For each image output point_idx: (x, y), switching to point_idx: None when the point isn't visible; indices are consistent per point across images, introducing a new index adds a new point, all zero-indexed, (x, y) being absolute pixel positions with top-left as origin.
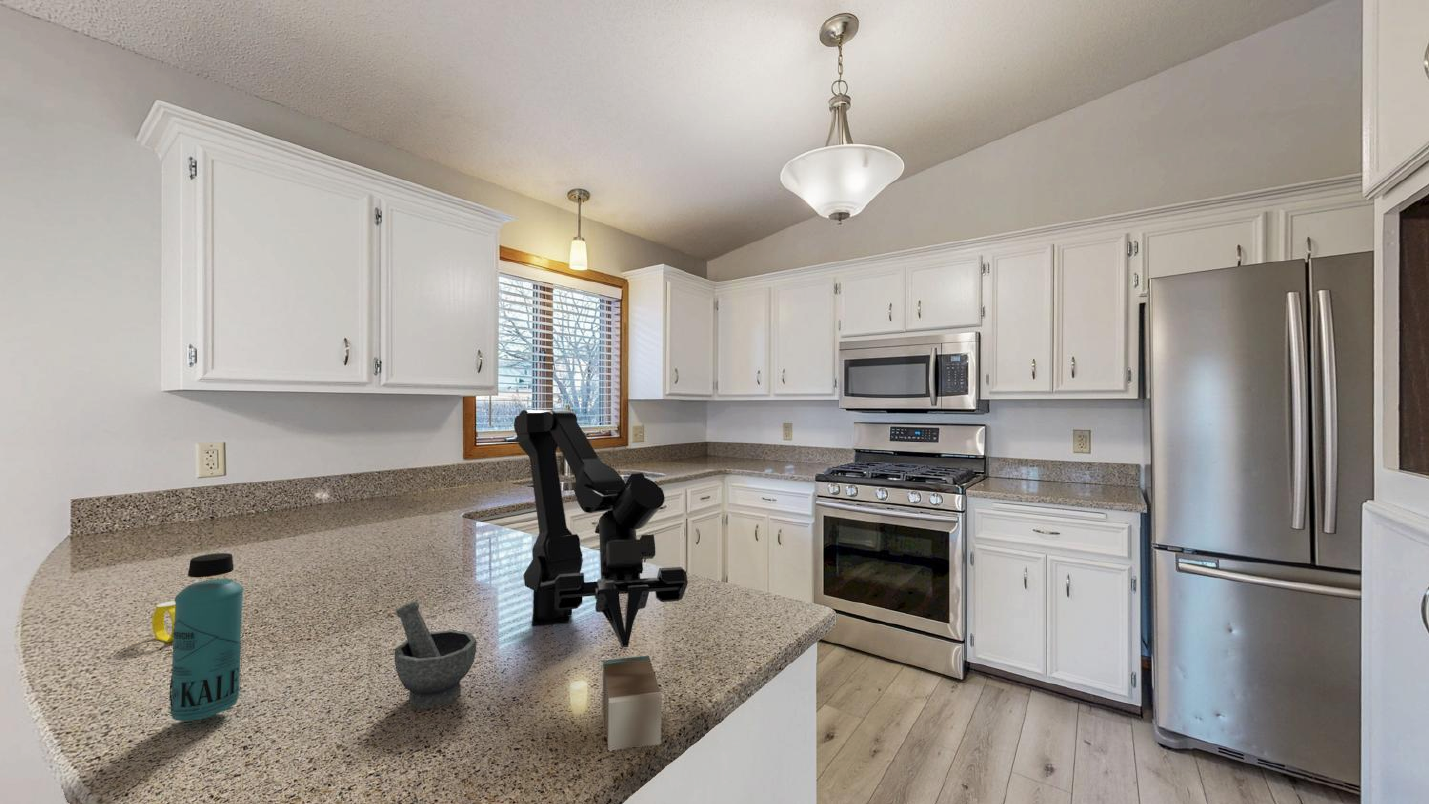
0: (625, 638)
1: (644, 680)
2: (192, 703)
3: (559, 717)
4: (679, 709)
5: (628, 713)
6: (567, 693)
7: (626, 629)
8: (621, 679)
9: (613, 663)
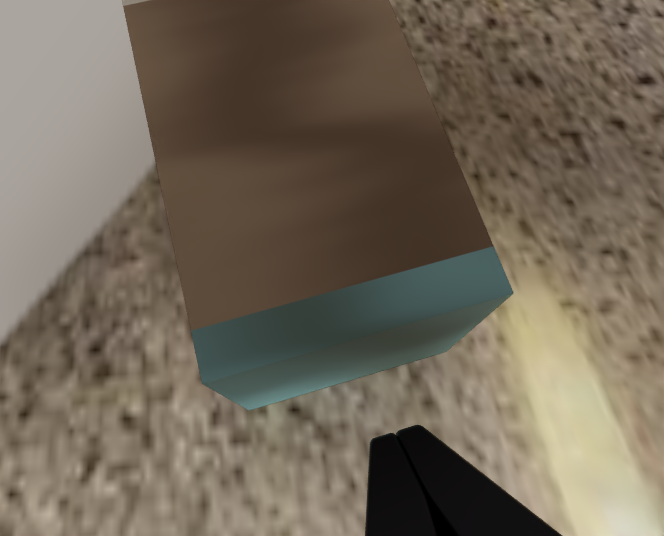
0: (408, 459)
1: (211, 93)
2: None
3: (590, 257)
4: (104, 338)
5: None
6: (643, 455)
7: (422, 524)
8: (341, 95)
9: (431, 257)
